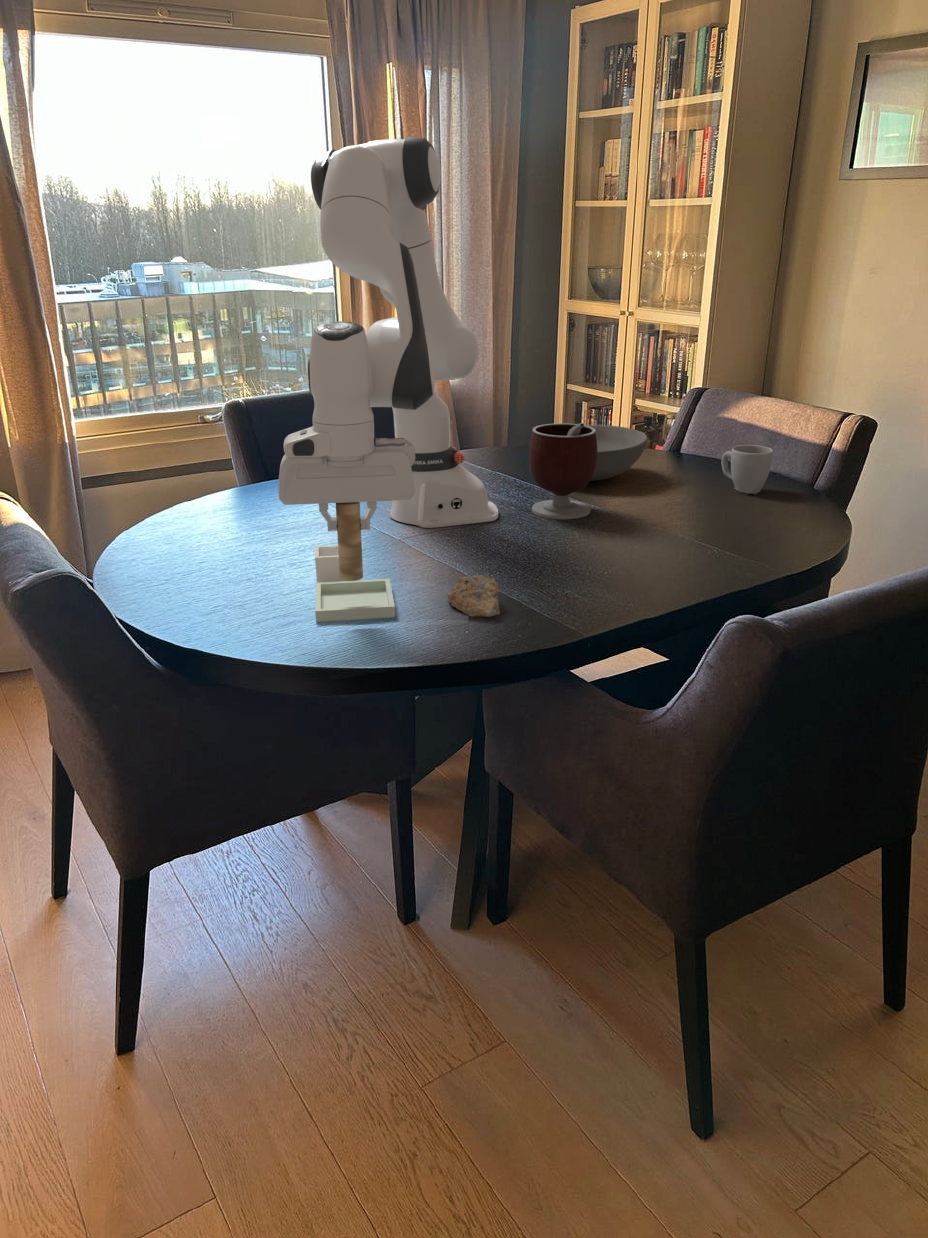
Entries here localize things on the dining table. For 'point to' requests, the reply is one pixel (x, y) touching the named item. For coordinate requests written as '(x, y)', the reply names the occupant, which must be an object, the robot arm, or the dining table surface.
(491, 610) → the rock
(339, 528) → the dowel
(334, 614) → the tray
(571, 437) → the mate gourd
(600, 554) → the dining table surface
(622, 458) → the bowl
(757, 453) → the mug
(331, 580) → the pen cup
